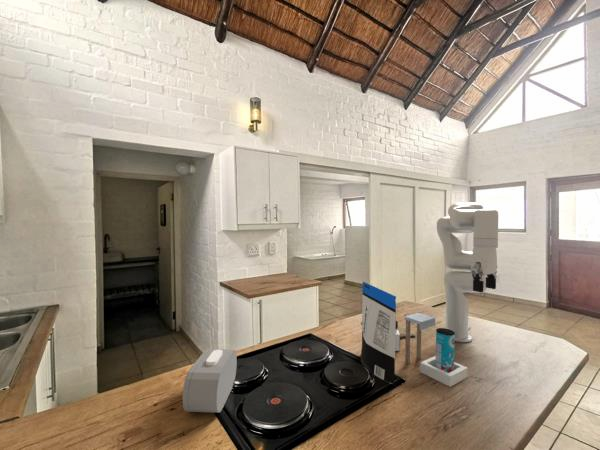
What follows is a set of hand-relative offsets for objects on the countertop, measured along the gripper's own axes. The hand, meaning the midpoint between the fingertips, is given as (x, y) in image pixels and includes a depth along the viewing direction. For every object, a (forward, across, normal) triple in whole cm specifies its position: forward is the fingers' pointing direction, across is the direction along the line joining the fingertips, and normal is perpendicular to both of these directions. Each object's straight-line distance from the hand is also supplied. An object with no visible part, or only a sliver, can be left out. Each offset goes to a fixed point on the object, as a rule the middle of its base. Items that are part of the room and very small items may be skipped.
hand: (484, 289), depth 102 cm
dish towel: (+31, -3, -46) cm, 56 cm away
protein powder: (+31, +31, -23) cm, 49 cm away
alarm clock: (+31, +88, -37) cm, 100 cm away
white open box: (+30, +14, -10) cm, 35 cm away
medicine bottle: (+31, +12, -32) cm, 46 cm away
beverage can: (+30, +13, -7) cm, 34 cm away
